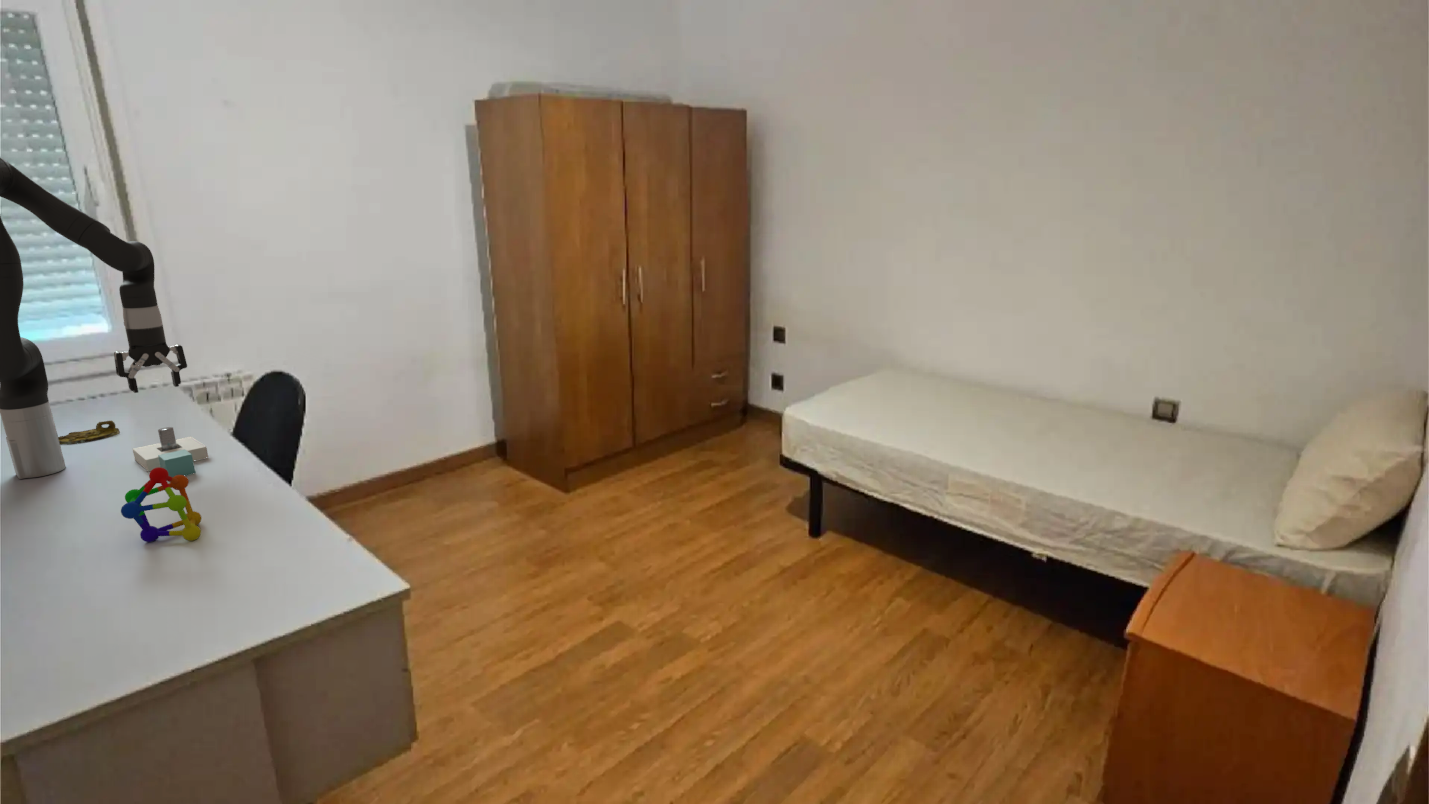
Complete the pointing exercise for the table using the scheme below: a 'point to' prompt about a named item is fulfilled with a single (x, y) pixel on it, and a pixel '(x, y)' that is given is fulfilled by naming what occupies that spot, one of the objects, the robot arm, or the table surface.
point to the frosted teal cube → (177, 463)
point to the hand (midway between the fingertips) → (156, 389)
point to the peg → (167, 438)
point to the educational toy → (174, 503)
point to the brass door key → (90, 434)
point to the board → (150, 453)
